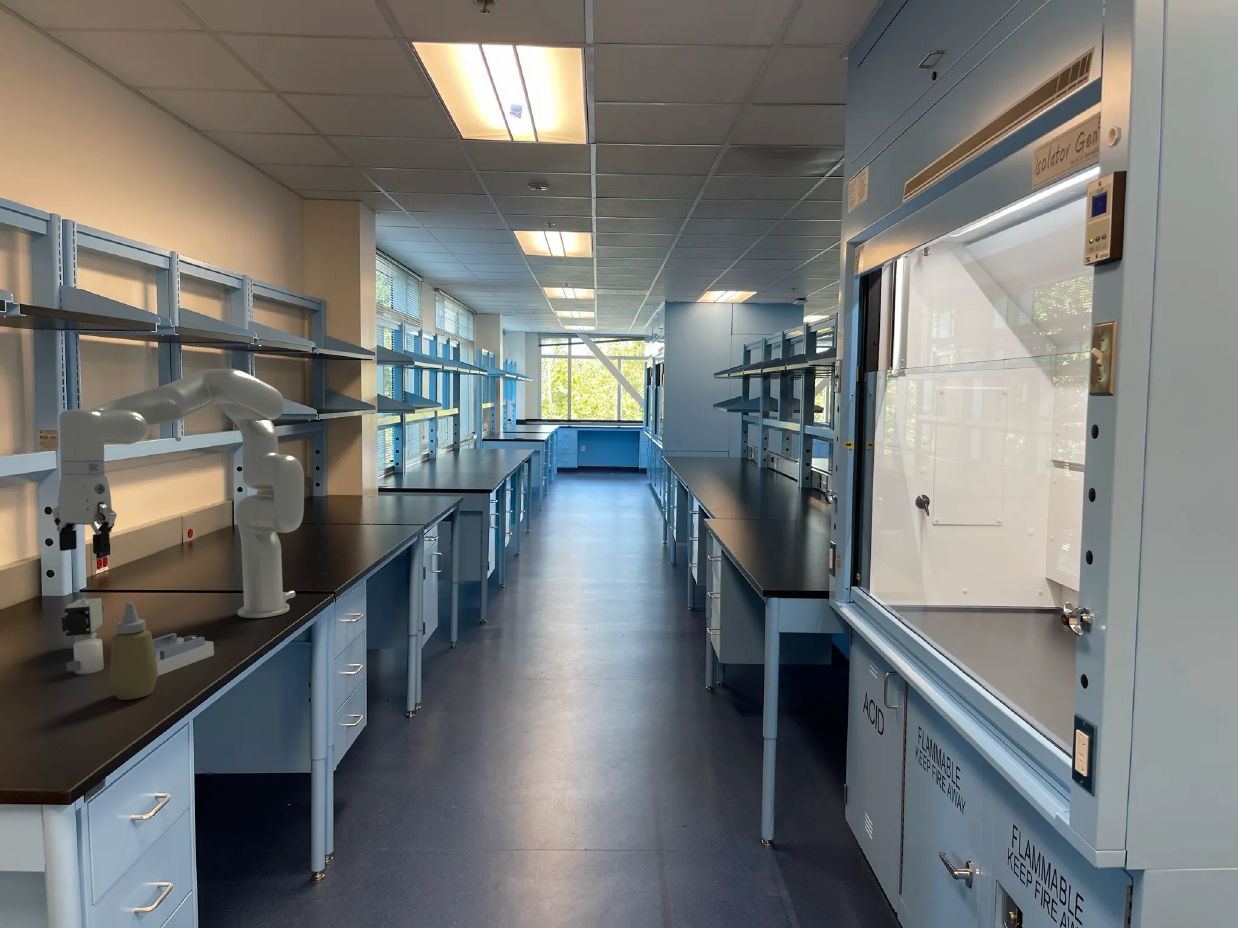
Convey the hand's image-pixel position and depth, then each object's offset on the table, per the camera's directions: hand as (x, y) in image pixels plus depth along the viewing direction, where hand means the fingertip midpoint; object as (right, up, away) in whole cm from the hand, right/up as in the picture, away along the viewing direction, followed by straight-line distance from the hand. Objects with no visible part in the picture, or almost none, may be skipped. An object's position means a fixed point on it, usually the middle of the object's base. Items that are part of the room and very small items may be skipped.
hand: (84, 551), depth 161 cm
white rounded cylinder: (0, -25, +2) cm, 25 cm away
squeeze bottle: (+18, -27, -12) cm, 34 cm away
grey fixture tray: (+14, -25, +7) cm, 29 cm away
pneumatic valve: (-11, -24, +15) cm, 31 cm away
